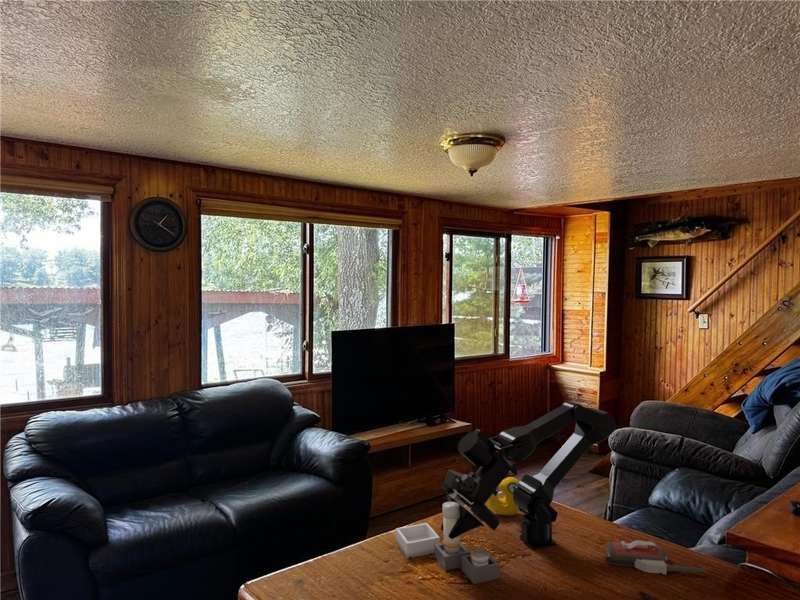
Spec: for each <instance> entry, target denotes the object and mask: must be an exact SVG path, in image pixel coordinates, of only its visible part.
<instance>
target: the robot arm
mask: <svg viewBox="0 0 800 600" xmlns="http://www.w3.org/2000/svg"><path fill="white" fill-rule="evenodd" d="M575 422H576V423H575ZM573 423H575V428H574V431H573V433H572V435H570V437H569V438H568V439H567V440H566V442H565V443H564V444H563V445H562V446H561V448H560V447H559V449H558V451H557V452H556V453H555V454H554V455H553V456H552V458H551V459H550V460H549V461H548V462H547V463H546V464H545V466H544V467H543V468H542V469H540V471H539V472H538V473H537V474H535V475H531V474H529V473H525V474H524V475H523V476H522V478H521V479H520V480H519V483H517V484H515V485H516V486H517V487H516V488H515V489H514V491H513V500H514V503H515V504H516V505H517V506H518V508H519V511H518V512H521V513H522V514H523V515H522V522H521V524H520V529H521V531H520V532H521V533H520V534H519V539H520V540H522V541H523V542H524V543H525V544H526V545H528V546H529V547H530V548H531V549H533V550H536V549H540V548H546V547H549V546H556V545H557V542H556V541H555V540H554V539H553V523H554V522H556V521H557V517H558V512H557V510H556V509H555V508H554V507H552V506H551V504H552V502H553V498H554V492H555V489H556V487H557V486H558V485H559V484H560V482H562V480H564V478H565V477H566V475H568V474H569V472H570V471H571V470H572V468H573V467H574V466H575V465H576V464H577V463H578V461H580V459H581V458H582V457H583V456H584V454H585V453H586V452H588V450H589V449H590V447H591V446H594V445H596V444H598V443H601V442H604V441H605V440H606V439H607V438H609V436H611V435H612V434H613V433H614V431H615V430H616V427H617V426H616V419H615V417H614V415H613V414H612V413H610V412H608V411H604V410H601V409H598V408H594V407H585V406H583V405H582V404H580V403H576V402H573V401H570V400H569V401H564V402H563V403H561V405H560V406H558V407H557V408H555V409H553V410H551V411H549V412H548V413H546V414H544V415H542V416H541V417H539V418H537V419H536V420H534V421H532V422H530V423H528V424H526V425H523V426H515V427H511V428H508V429H505V430H503V431H501V432H500V433H498V435H496V436H492V437H489V438H488V437H487V436H486V435H485V433H484V432H483V431H482V430H480V428H479V429H478V428H476V429H474V430H473V431H472V432H469V433H467V434H466V435H464V436H463V437H461V439H460V440H459V442H458V444H457V445H458V446H457V450H458V452H459V453H460V454H461V455H462V456H463V457H464V458H466V460H468V461H469V462H470V463H471V464H472V465H473V466H474V467H475V468H478V470H477V471H476V472H474V471H471V472H469V473H468V474H466V473H461V472H459V471H456V470H453V469H448V471H447V473H446V476H445V479H444V481H443V482H442V484H441V485H440V487H441V488H442V489H443V490H444V491H445V492H446V497H447V502H456V503H458V504H459V510H460V516H459V519H458V520H457V522H456V524H455V525H454V527H453V528H452V530H451V532H450V533H449V535H448V536H449V538H451V539H453V538H455V537H457V536H459V535H460V536H461V535H463V534H465V533H468V532H469V531H472V530H473V529H477V528H478V527H479V528H480V527H484V526H485V524H486V526H488V528H490V529H491V530H493V532H495V531H496V530H497V529H498V527H499V526H500V525H501V524H500V518H499V516H498V515H497V514H496V513H495V512H493V511H492V510H491V509H490V508H489V507H488V505H486V504H487V503H488V502H487V501H488V499H489V498H490V497H491V495H492V494H493V495H495V496H496V495H497V496H498V494H499V491H497V489H498V488H499V484H500V483H501V482H502V481H503V480H504V479H505V477H506V476H507V475H508V474H509V473H510V474H512V475H514V476H515V477H516V476H517V475H518V470H517V463H516V462H520V461H523V460H525V459H526V458H527V457H528V456H530V455H532V453H533V452H534V451H535V450H536V448H537V446H538V444H539V443H540V442H542V441H543V440H545V439H548V438H549V437H551V436H552V435H554V434H557V433H558V432H559V431H561V430H562V429H564V428H566V427H568V426H569V425H571V424H573ZM496 453H498V454H496ZM506 457H507V458H510V459H512V460H514V461H516V462H514V461H512V460H508V459H507V458H506ZM465 506H467V507H468V508H467V509H466V508H465ZM483 523H485V524H483ZM440 530H441V531H442V532H444V528H443V522H442V523H441V527H440Z"/></svg>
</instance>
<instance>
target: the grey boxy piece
mask: <svg viewBox="0 0 800 600" xmlns="http://www.w3.org/2000/svg"><path fill="white" fill-rule="evenodd" d="M460 568H461V571H462V572H463V574H464V575H466V577H467V578H468V579H469V581H470V582H471V583H472V584H474V585H475V584H480V583H484V582H488V581H492V580H498V579H501V578H500V577H501V576H500V575H501V574H500V564H499V562H498V561H497V560H495V559H494V558H493V557H492V555H491V554H489V561H488V565H485V566H481V567H476V568H475V567H474V566H473V565H472V560H471V553H470V555H465V556H461V567H460Z"/></svg>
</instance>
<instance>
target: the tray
mask: <svg viewBox="0 0 800 600" xmlns="http://www.w3.org/2000/svg"><path fill="white" fill-rule="evenodd" d="M395 543H396V545H397V546H398V547H399V549H400V550H401V552H402V551H403V552H402V553H403V554H405V555H404V556H405V558H406V559H410V558H409V557H412V558H416V557H415V556H417V557H422V556H425V555H426V556H427V555H431V553H432V554H435V552H434V545H435V544H440V543H441V538H440V536H439V535H438V534H437V533H436V531H435V530H434V529H433V528H432V527H431V526H430V525H429V523H428V522H424V523H419V524H414V525H413V524H412V525H408V526H402V527H397V528H395Z"/></svg>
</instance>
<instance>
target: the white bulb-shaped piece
mask: <svg viewBox="0 0 800 600" xmlns="http://www.w3.org/2000/svg"><path fill="white" fill-rule="evenodd" d="M459 516H460V510H459V504H458V503H456V502H448V501H446V502H444V503H442V518H443V520H442V523H443V528H444V531H443V543H444V553H445V554H446V555H450V554H455V553H460V542H461V539H460V536H461V535H459V536H457V537H455V538H453V539H451V538H449V536H448V535H449V533H450V532H451V530H452V528H453V527H454V525H455V524H456V522H457V520H458V519H459Z"/></svg>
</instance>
